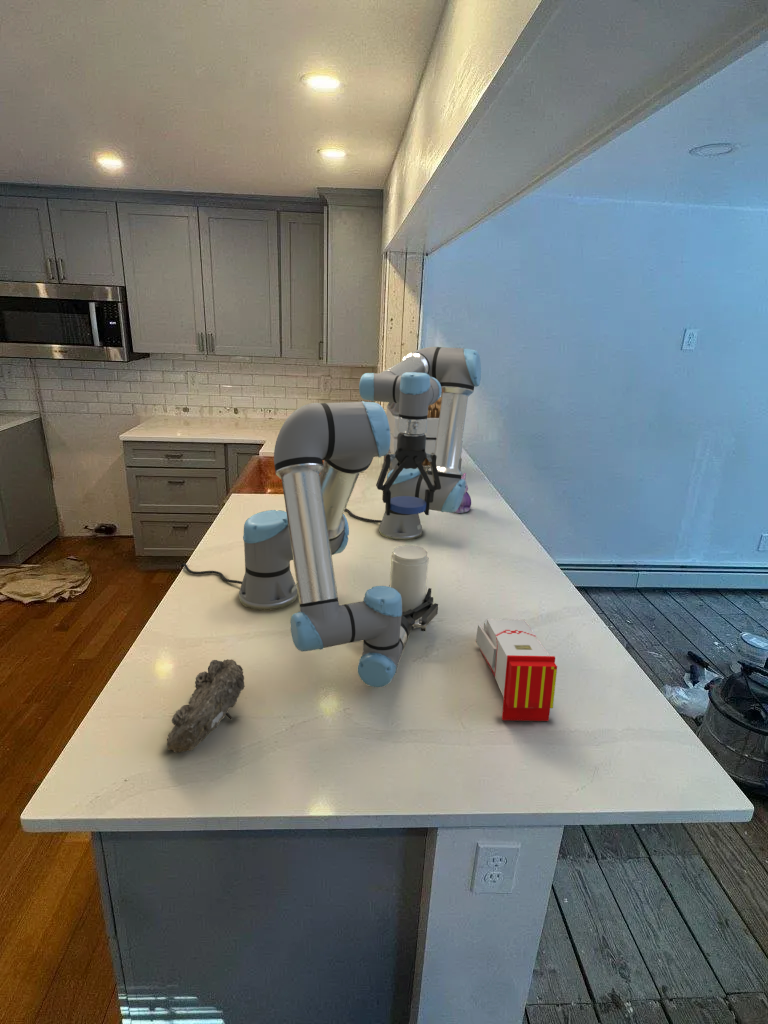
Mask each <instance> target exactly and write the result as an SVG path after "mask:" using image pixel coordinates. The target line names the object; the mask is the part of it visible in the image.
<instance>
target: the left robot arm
mask: <svg viewBox="0 0 768 1024" xmlns="http://www.w3.org/2000/svg"><path fill="white" fill-rule="evenodd" d="M389 448H390V428H389V422H388V419H387V415H386V411H385V409H384V407H383V406H382V405H381V404H379V402H376V401H364V400H362V401H347V402H346V401H345V402H343V401H342V402H311V403H307V404H304V405H302V406H300V407H298V408H297V409H295V410H294V411H293V412H291V413H290V415H289V416H288V417H287V418H286V419H285V421H284V422H283V424H282V426H281V427H280V429H279V432H278V435H277V437H276V440H275V443H274V449H273V464H274V465H273V466H274V471H275V472H274V473H275V476H277V477H278V478H279V479H280V480H281V484H282V491H283V499H284V504H285V506H284V507H285V510H280V509H278V510H276V509H268V510H264V511H260V512H256V513H254V514H252V515H251V516H250V517H248V518H247V519H246V520H245V522H244V524H243V536H242V540H243V546H244V547H243V548H244V549H243V550H244V575H243V578H242V580H237V579H236V580H235V579H228V578H226V577H225V576H224V574H223V573H222V572H220V571H217V570H202V571H196V570H195V571H193V570H191V569H190V568H189V567H188V565H187V563H186V562H183V563H181V565H180V567H182V568H183V567H184V568H185V570H186V571H187V573H189V574H191V575H192V574H193V575H205V574H206V575H207V574H216V575H218V576H220V578H221V579H222V580H223V581H225V582H226V583H230V584H238V585H241V586H240V588H239V592H238V597H239V602H240V603H241V604H242V605H243V606H244V607H246V608H248V609H251V610H255V611H276V610H281V609H283V608H286V607H288V606H291V605H292V604H293V603H295V602H296V600H297V598H298V603H299V609H300V610H298V611H297V612H294V613H293V614H291V617H290V620H289V621H290V633H291V639H292V642H293V645H294V647H295V648H296V649H297V650H298V651H300V652H308V651H309V652H310V651H317V650H319V651H320V650H323V649H327V648H331V647H336V646H340V645H346V644H350V643H357V642H361V641H362V654H361V656H360V658H359V659H358V665H357V675H358V677H359V678H360V680H361V682H363V684H365V685H367V686H369V687H372V688H377V689H378V688H384V687H386V686H388V685H389V684H391V682H392V681H393V678H394V677H395V675H396V674H397V669H398V666H399V663H400V661H401V658H402V655H403V653H404V649H405V647H406V645H407V642H408V639H409V637H410V634H411V633H412V630H414V629H417V628H419V629H420V631H421V632H426V630H427V626H428V625H429V624H430V623H431V622H432V621H433V620H434V619H435V618H436V616H437V615H438V613H439V603H434V596H432V590H433V589H432V588H431V587H428V589H427V590H426V597H425V599H424V603H423V604H422V605H420V606H418V607H416V608H414V609H413V610H411V609H410V610H408V611H406V612H403V611H402V598H401V595H400V593H399V592H398V591H397V590H396V589H394V588H391V587H389V586H390V584H389V585H388V586H387V585H374V586H372V587H371V588H368V589H367V590H366V591H365V593H364V597H363V600H362V601H357V602H350V603H346V604H340V603H339V596H338V589H337V581H336V577H335V576H336V575H335V569H334V563H333V562H334V561H333V556H334V555H337V554H341V553H342V552H343V551H344V550H345V549H346V548H347V546H348V543H349V535H350V528H349V522H348V519H347V518H346V515H345V514H344V513H345V512H346V511H345V508H346V509H347V506H348V503H349V501H350V499H351V496H352V494H353V491H354V488H355V486H356V483H357V481H358V478H359V476H360V474H361V473H363V472H365V471H366V470H368V469H369V467H371V464H372V462H373V459H374V458H382V457H384V456H385V455H386V454H387V453H388V451H389ZM291 561H293V568H294V575H295V579H294V577H293V574H292V572H291ZM421 617H422V618H421ZM417 619H419V620H418V621H417V622H415V620H417ZM414 627H416V628H414Z"/></svg>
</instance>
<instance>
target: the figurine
mask: <svg viewBox="0 0 768 1024" xmlns="http://www.w3.org/2000/svg"><path fill="white" fill-rule="evenodd" d="M461 479H463V480H465V482H466V480H467V472H463V473H462V477H461ZM468 490H469V487H468V484H467V482H466V485H465V491H464V495H463V498H462V501H461V504H460V506H459V508H458V509H457V510H456V511H455V512H454V513H456V514H463V513H468V512H469V511H470V510H471V506H472V498H471V496H470V493H469V492H468Z"/></svg>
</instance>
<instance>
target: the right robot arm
mask: <svg viewBox="0 0 768 1024" xmlns="http://www.w3.org/2000/svg"><path fill="white" fill-rule="evenodd" d="M480 356H481V355H480V354H479V352H478V350H476V349H471V348H465V347H463V348H461V347H445V346H429V347H423V348H419V349H416V350H413V351H411V352H409V353H408V354H406V355H404V356H403V358H402V359H401V361H399V362H397V363H396V364H394V365H392V366H391V367H388V368H386V369H385V370H383V371H381V372H378V373H375V372H365V373H363V374H362V375H361V377H360V380H359V383H358V384H359V385H358V391H359V395H360V397H361V399H363V401H364V400H365V401H369V402H378V403H380V402H381V403H389V402H390V403H399V419H398V431H399V432H400V433H399V434H398V436H397V450H396V452H395V453H387V454H386V455H385V456H383V458H384V457H385V461H384V460H383V463H384V464H382V466H381V469H380V473H379V476H378V478H377V481H376V483H375V486H376V489H377V490H378V491H382V496H381V497H382V499H381V500H382V503H383V504H384V505H385V507H384V508H385V509H384V513H383V515H382V519H373V518H366V517H361V516H358V515H356V514H354V513H352V511H351V510H349V509H348V508H347V507H346V508H345V511H344V512H347V513H348V515H350V516H351V517H352V518H354V519H357V520H360V521H364V522H370V523H377V524H378V523H379V527H378V533H379V534H380V535H381V536H382V537H385V538H387V539H389V540H395V541H410V540H415V539H418V538H420V537H421V536H422V535H423V525H422V524H421V518H420V515H419V514H420V513H419V514H401V513H397V512H394V511H392V510H390V500H391V498H393V497H398V496H411V497H417V498H420V499H423V500H425V501H426V510H425V511H424V512H423V513H424V514H425V516H429V514H430V511H435V512H436V511H437V512H441V513H456V512H455V511H456V510H457V509H458V508H459V506H460V504H461V501H462V498H463V495H464V491H465V485H466V484H467V482H465V480H463V479H461V477H462V476H463V473H462V471H461V472H460V470H459V469H458V466H459V459H460V451H461V444H462V445H463V443H462V441H463V438H464V432H463V430H464V429H465V422H466V415H467V408H468V402H469V401H468V400H469V397H470V396H472V394H473V393H474V392H475V388H476V387H479V386H480V384H481V378H482V361H481V357H480ZM441 392H442V401H441V409H440V416H439V423H438V431H437V438H436V446H435V453H431V454H427V453H426V452H425V446H426V436H425V433H426V432H427V417H428V406H429V405H432V404H434V403H435V402H436V401H437V400H438V399H439V398H440V397H441ZM464 431H465V430H464ZM462 437H463V438H462ZM393 458H396V459H397V461H398V463H397V464H396V466H395V468H394V469H393V470H391V471H390V467H389V466H390V462H392V461H393ZM426 458H427V459H428V461H429V462H430V466H429V468H428V469H427V472H426V470H425V468H424V466H422V462H423V461H424V460H425V459H426ZM388 471H389V472H388Z"/></svg>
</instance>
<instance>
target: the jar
mask: <svg viewBox="0 0 768 1024" xmlns="http://www.w3.org/2000/svg"><path fill="white" fill-rule="evenodd" d="M429 562H430V561H429V556H428V551H427V549H426V548H424V547H422V546H419V545H415V544H401V545H397V546H396V547H394V548H393V549H392V553H391V555H390V565H389V566H390V569H389V570H390V571H389V585H390V586H389V585H388V587H391V588H394V589H396V590H397V591H398V592H399V593H400V595H401V598H402V611H403V612H406V611H408V610H410V609H411V610H413V609H414V608H416V607H418V606H420V605H422V604H423V603H424V599H425V597H426V594H427V587H428V575H429ZM421 618H422V617H421ZM418 620H419V619H417V620H415V622H417V621H418ZM414 629H417V628H416V627H414Z"/></svg>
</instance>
